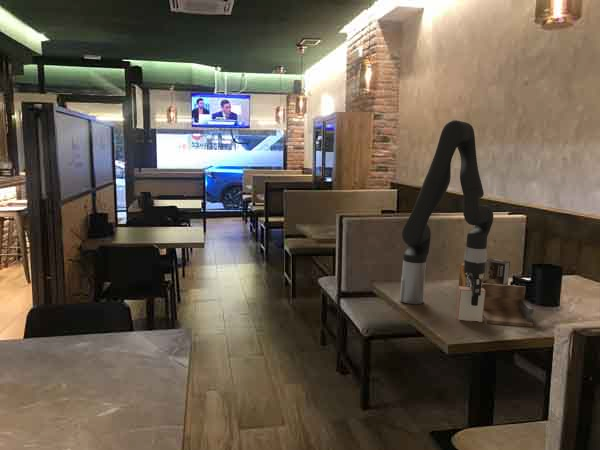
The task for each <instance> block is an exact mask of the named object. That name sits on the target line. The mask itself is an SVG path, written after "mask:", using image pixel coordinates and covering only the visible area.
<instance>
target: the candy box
mask: <svg viewBox="0 0 600 450" xmlns="http://www.w3.org/2000/svg"><path fill="white" fill-rule="evenodd" d="M458 276H459V277H458V286H462V287H467V285H466V278H467V272H465V271H464V263H461V264H460V265H459V275H458ZM483 276H484V273H483V274H479V278H480V279H481V280H482V282H481V288H482V283H483Z"/></svg>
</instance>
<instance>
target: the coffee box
mask: <svg viewBox="0 0 600 450" xmlns="http://www.w3.org/2000/svg"><path fill="white" fill-rule="evenodd" d="M510 266H511V261H509V260H503V259H497V258H491V257H489V258H486V269H485V273H484V276H483V283H487V284H500V285H509V278H510V277H509V276H510V269H511V268H510Z"/></svg>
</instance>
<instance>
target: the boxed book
mask: <svg viewBox="0 0 600 450" xmlns="http://www.w3.org/2000/svg"><path fill="white" fill-rule="evenodd" d="M475 292H477V290H475ZM485 293H486V291H485V290H484V288H481V295H480V296H478V305H477V306H472V305H471V298H472V291H471V290H470V287H462V286H459V285H458V289H457V298H456V308H455V318H456V320H457V321H460V320H466V321H465V322H472V321H478V322H477V323H483V322H484V321H483V320H484V317H483V312H484V303H485Z"/></svg>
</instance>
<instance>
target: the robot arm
mask: <svg viewBox="0 0 600 450" xmlns="http://www.w3.org/2000/svg"><path fill="white" fill-rule="evenodd" d="M456 149H457V150H458V152H459V156H460V170H459V181H460V187H461V192H462V194H463V210H462V211H463V214H462V215H463V218H464V221H466V223H467V224H469V225H471V226H473V229H472V230H470V231H469V232H468V233H467V235H466V244H465V245H466V246H465V251H464V261H463V264H464V271H465V272H467V278H466V285H467V287H470V290H471V291H472V298H471V305H472V306H477V305H478V296H480V295H481V282H482V280H481V279H480V278H479V274H483V273H485V269H486V260H487V255H488V254H487V245H488V237H489V233H490V232H491V231H490V230H491V228H492V225H493V222H494V212H493V209H492V208H491V206H489V205H486V204H483V205H482V204H479V199H481V198H483V197H484V188H483V184H482V180H481V175H480V172H479V165H478V159H477V150H476V136H475V131H474V127H473V126H472V125H471V124H470V123H468V122H466V121H461V120H456V119H453V120H449V121H448V122H447V123H446V124H445V125H444V126H443V128H442V130H441V133H440V136H439V139H438V143H437V146H436V150H435V152H434V156H433V157H432V160H431V163H430V166H429V168H428V171H427V174H426V176H425V178H424V180H423V183H422V185H421V188H420V191H419V192H418V193H419V194H418V195H417V198H416V201H415V204H414V206H413V209H412V210H411V213H410V215H409V216H408V218H407V220H406V222H405V224H404V227H403V228H402V230H401V231H402V232H401V237H402V241H403V242H404V243H405V244H406V245H407V247H406V250H405V251H404V252H403V255H402V258H403V260H402V271H401V278H400V293H399V294H400V295H399V300H400V303H404V304H405V303H406V304H409V305H421V304H422V303H424V292H425V284H426V283H425V282H426V281H425V280H426V266H427V258H428V255H429V252H430V245H431V234H432V233H431V228H430V226H429V225H428V222H429V219H430V217H431V216H432V214H433V212H434V211H435V210H436V208H437V207H438V206H439V205H440V203H441V202H442V201H443V200H444V197H445V194H446V193H447V190H448V188H449V187H450V182H451V176H452V172H451V169H452V167H451V166H452V164H451V163H452V160H453V157H454V154H455V152H456ZM475 290H477V292H475Z"/></svg>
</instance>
